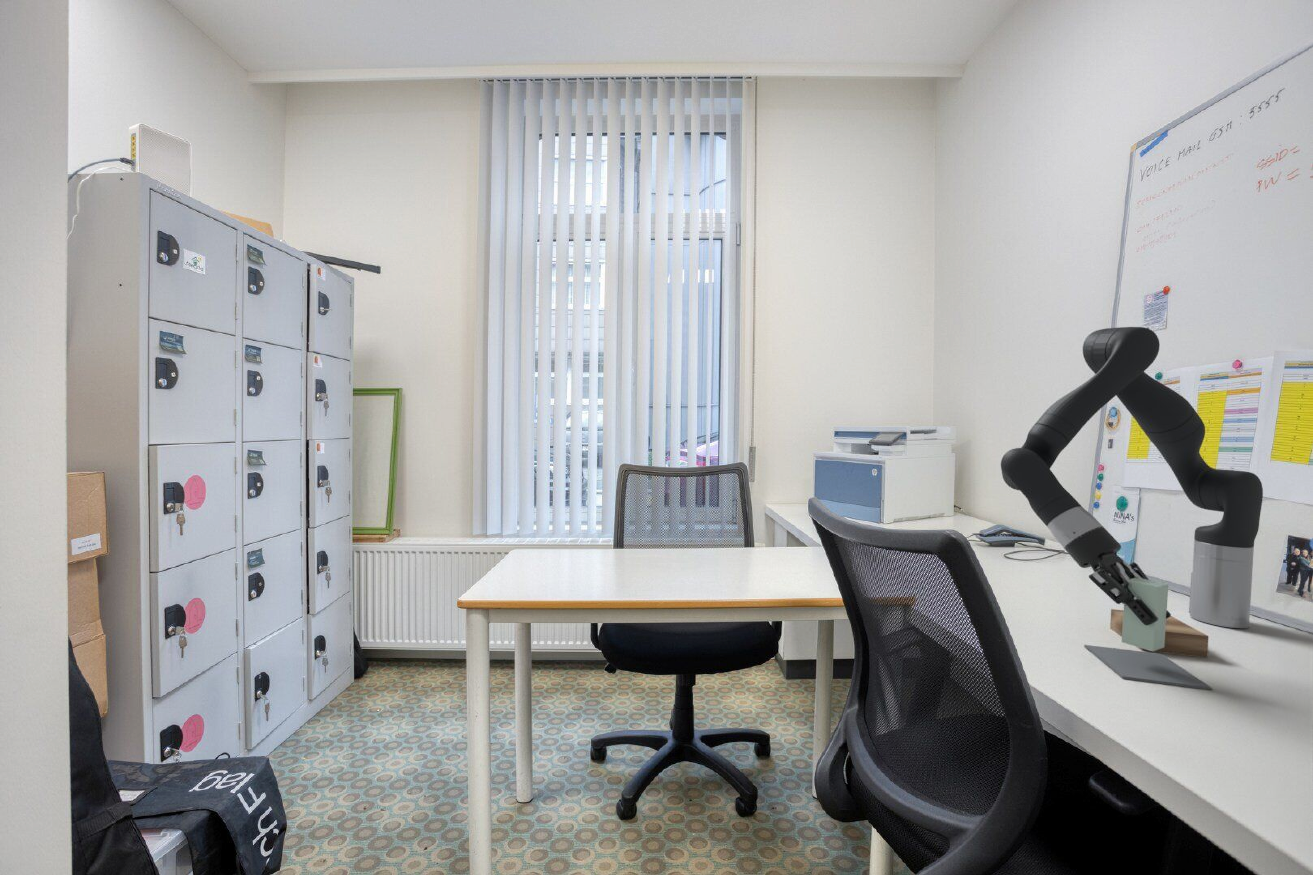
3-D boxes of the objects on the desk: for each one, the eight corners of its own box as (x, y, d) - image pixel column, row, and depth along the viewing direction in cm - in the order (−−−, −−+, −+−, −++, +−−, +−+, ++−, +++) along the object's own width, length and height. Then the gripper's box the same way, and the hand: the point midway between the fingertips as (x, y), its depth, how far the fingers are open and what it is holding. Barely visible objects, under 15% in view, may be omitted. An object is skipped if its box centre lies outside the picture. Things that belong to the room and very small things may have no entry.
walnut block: (1110, 628, 118) (1111, 609, 118) (1168, 634, 115) (1169, 614, 115) (1141, 650, 106) (1142, 629, 106) (1207, 657, 104) (1208, 636, 104)
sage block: (1121, 642, 100) (1125, 579, 99) (1133, 638, 102) (1137, 577, 101) (1152, 651, 96) (1157, 586, 95) (1164, 647, 98) (1168, 583, 98)
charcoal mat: (1084, 646, 107) (1084, 644, 107) (1160, 655, 104) (1160, 653, 104) (1122, 678, 94) (1122, 676, 94) (1211, 689, 90) (1211, 687, 90)
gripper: (1080, 527, 101) (1161, 616, 91) (1118, 522, 108) (1197, 604, 98) (1046, 550, 106) (1119, 637, 96) (1084, 544, 113) (1157, 625, 103)
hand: (1158, 620), depth 97 cm, fingers closed on sage block, 4 cm apart
